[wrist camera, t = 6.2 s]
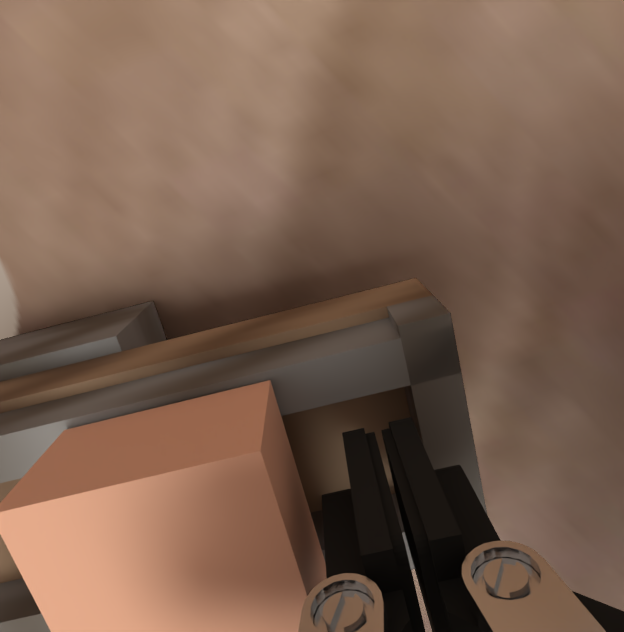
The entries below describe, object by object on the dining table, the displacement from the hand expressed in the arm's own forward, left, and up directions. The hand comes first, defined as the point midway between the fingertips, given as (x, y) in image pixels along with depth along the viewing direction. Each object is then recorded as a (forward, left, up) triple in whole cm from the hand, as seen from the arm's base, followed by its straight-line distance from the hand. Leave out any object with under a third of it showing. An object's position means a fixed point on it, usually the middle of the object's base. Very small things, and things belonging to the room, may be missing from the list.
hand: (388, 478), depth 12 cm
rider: (+5, 0, -2) cm, 5 cm away
